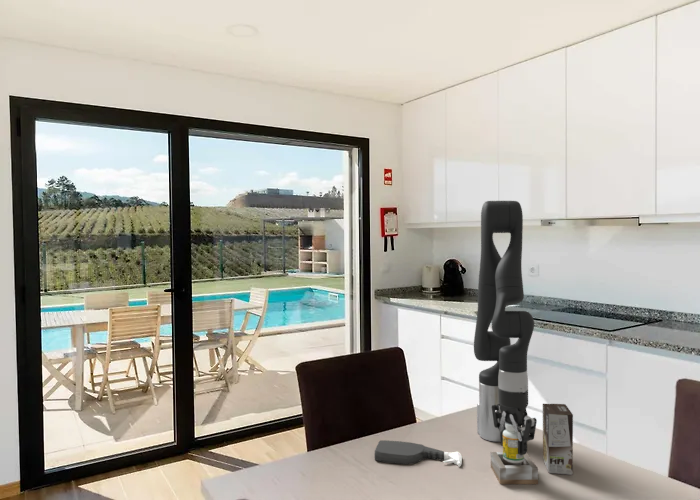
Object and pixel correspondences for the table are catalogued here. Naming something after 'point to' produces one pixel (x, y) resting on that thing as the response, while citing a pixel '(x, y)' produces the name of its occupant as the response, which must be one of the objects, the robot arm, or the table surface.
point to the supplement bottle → (511, 445)
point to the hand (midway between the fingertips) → (513, 449)
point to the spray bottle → (412, 453)
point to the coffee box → (558, 438)
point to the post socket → (514, 470)
